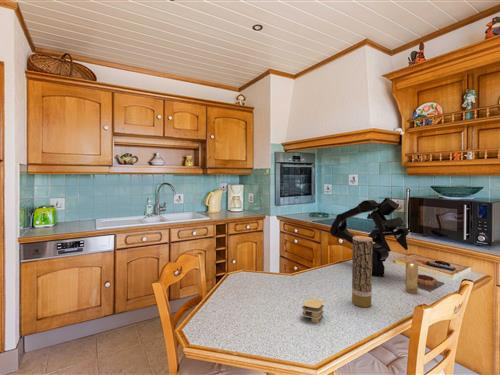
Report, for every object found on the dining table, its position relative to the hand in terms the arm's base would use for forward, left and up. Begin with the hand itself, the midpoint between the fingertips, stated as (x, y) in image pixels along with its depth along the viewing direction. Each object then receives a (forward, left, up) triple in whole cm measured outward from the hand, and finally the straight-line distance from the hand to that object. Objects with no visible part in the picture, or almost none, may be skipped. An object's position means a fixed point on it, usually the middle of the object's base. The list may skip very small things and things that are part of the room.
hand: (398, 250), depth 118 cm
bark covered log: (-17, -23, -16) cm, 33 cm away
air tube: (+4, -7, -15) cm, 17 cm away
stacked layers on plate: (-34, -39, -16) cm, 55 cm away
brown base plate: (+12, +4, -15) cm, 20 cm away
